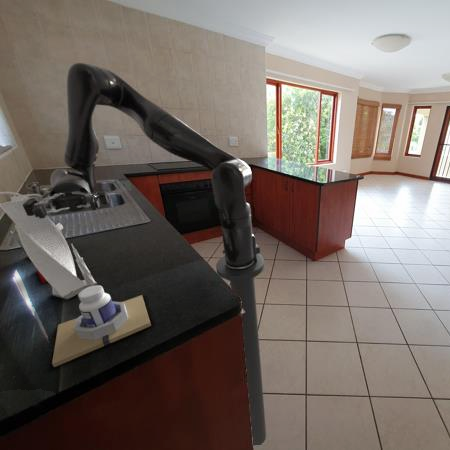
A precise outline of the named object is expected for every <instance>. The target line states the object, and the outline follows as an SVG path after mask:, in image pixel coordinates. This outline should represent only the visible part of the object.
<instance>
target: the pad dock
mask: <svg viewBox="0 0 450 450" xmlns="http://www.w3.org/2000/svg"><path fill="white" fill-rule="evenodd" d="M112 302H113V304H114V307H115V309H116V312H117V316H116V317H115V318H114V319H113V320H111V321H110V322H108V323H105V324H103V325H100V326H97V327H95V328H88V326H87V324H86V322H85V320H84V318H83V316H82V314H81V315H79V316H78V317H76V318H73V319H70V320H68V321H65V322H63V323H62V322H61V323H60V324H59V323H58V324H57V330H56V337H55V342H54V350H53V357H52V361H51V364H52V366H53V368H56V367H59V366H61V365H63V364H65V363H68V362H71V361H72V360H74V359H77V358H79V357H82V356H84V355H86V354H89V353H91V352H93V351H95V350H98V349H101V348H103V347H105V346H107V345H110V344H112V343H114V342H117V341H119V340H121V339H124V338H127V337H128V336H131V335H133V334H136V333H138V332H140V331H143V330H145V329H147V328H149V327H152V324H151V320H150V317H149V314H148V310H147V307H146V303H145V300H144V297H143V295H142V294H141V295H138V296H135V297H133V298H130V299H127V300H124V301H113V300H112Z"/></svg>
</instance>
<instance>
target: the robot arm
mask: <svg viewBox="0 0 450 450" xmlns="http://www.w3.org/2000/svg"><path fill="white" fill-rule="evenodd" d="M66 100H67V101H66V103H67V106H66V107H67V126H68V127H67V138H66V143H65V148H64V154H63V163H64V164H65V165H66V166H67V167H69V168H71V169H73V170H71V169H68V168H57V169H55V170H53V172H52V173H51V175H50V179H49V180H50V181H49V182H50V185H51V189H50V192H49V196H47V197H45V198H44V197H43V198H42V199H43V201H38V199H36V198H31V197H30V198H31V199H28V200H27V201H26V202H25V203H24V204H23V207H24V209H25V212H26V214H27V216H33V215H35V217H39V218H40V219H41V218H45V217H46V216H47V214H51V213H52V214H55V213H58V212H61V211H65V212H79V211H82V210H84V209H85V208H87V209H89V208H91V210H92V211H96V210H97V209H98V208H100V206H101V204H102V205H105V206H106V205H109V204H110V201H109V199H108V195H107V193H106V192H105V190H104V189H99V190H97V187H98V184H97V178H96V171H95V168H96V162H97V158H98V155H99V149H100V143H99V142H100V141H99V139H98V136H97V134H96V130H95V129H94V124H93V115H94V112H95V109H96V107H97V106H106V107H110V108H114V109H116V110H118V111H120V112H122V113H124V114H125V115H127V116H128V117H130V118H131V119H132V120H134V122H136V123H137V125H138V126H139V128H140V129H141V131H142V132H143V134H144V135H145V136H146V137H147V138H148V139H149V140H150V141H151V142H153V143H154V144H155V145H157V146H159V147H160V148H162V149H163V150H165V151H166V152H168V153H170V154H171V155H173V156H176V157H179V158H181V159H184V160H187V161H190V162H193V163H195V164H198V165H201V166H203V167H205V168H207V169H208V170H210V171H211V177H210V178H211V179H210V180H211V187H212V193H213V199H214V203H215V207H216V209H217V211H218V214H219V219H220V228H221V233H222V244H223V250H222V254H223V255H224V256H225V261H226V266H227V268H229V269H231V270H244V269H247V268H249V267H251V266H252V265H253V264H254V263H255V262H257V254H260V253H261V248H260V246H259V245H258V244H257V242H256V240H257V239H256V236H255V235H254V234H253V223H252V221H253V220H252V209H251V205H250V203H248V202H247V200H246V199H247V198H246V192H245V189H246V188H248V187H249V185H250V184H251V183H252V181H253V174H252V170H251V167H250V166H249V165H248V164H247V163H246V162H245V161H244V160H241V159H240V158H238V157H236V156H234V155H233V154H231V153H229V152H227V151H225V150H224V149H222V148H220V147H218V146H217V145H215V144H213V143H212V142H211V141H210V140H208V139H207V138H205V136H202V134H200V133H199V132H198V131H196V130H195V129H193V128H191V127H190V126H189V125H187V124H186V123H185V122H183V121H182V120H180V119H179V118H177V117H176V116H175V115H173V114H172V113H169V111H167V110H165V109H163V108H162V107H160V106H159V105H157V104H156V103H154V102H153V101H151V100H149V99H148V98H146V97H145V96H143V95H142V94H141V93H139V92H138V91H137V90H136V89H135V88H133V86H131V85H130V84H129V83H128V82H126V81H125V80H124V79H123V78H122V77H120V76H119V75H118V74H116V73H115V72H113V71H111V70H109V69H106V68H103V67H100V66H96V65H92V64H88V63H84V62H75V63H73V64H72V65H70V66H69V69H68V71H67V76H66ZM95 192H96V193H95ZM44 207H45V208H44Z"/></svg>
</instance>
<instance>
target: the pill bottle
mask: <svg viewBox="0 0 450 450" xmlns="http://www.w3.org/2000/svg"><path fill="white" fill-rule="evenodd" d="M77 297H78V299H79V301H80V303H79V305H78V309H79V311H80V313H81V315H82V316H83V318H84V320H85V322H86V324H87V326H88V328H95V327H97V326H100V325H103V324H105V323H108V322H110V321H111V320H113V319H114V318H115V317H116V316H117V312H116V309H115V307H114V304H113V302H114V301H113V300H112V297H111V295H110V293H107V292H105V290H104V287H103V286H102V285H99V284H96V285H94V286H91V287H88V288H86V289H84V290H82V291H81V292H80V293H79V294H77ZM112 301H113V302H112Z"/></svg>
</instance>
